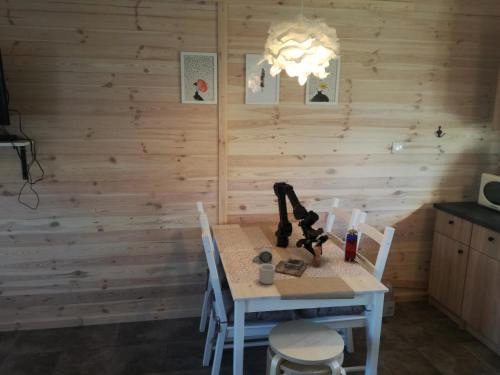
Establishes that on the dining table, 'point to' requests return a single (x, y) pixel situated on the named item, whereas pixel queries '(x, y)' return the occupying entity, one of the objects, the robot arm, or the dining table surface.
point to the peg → (317, 256)
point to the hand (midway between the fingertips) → (318, 255)
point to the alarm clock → (351, 244)
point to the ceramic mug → (264, 256)
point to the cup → (266, 273)
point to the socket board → (291, 267)
